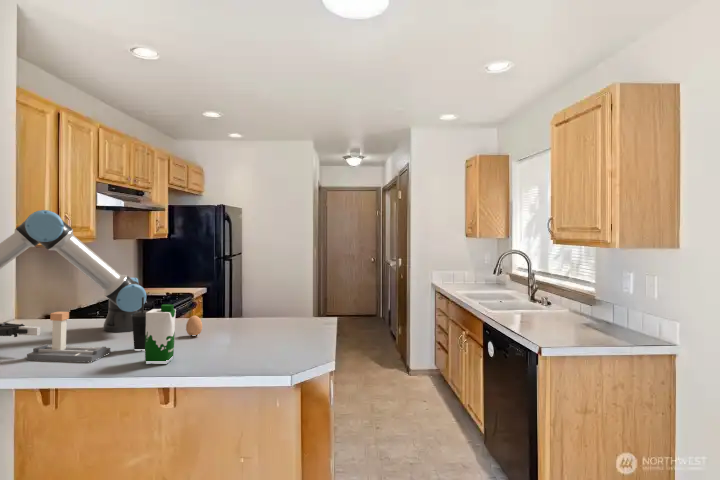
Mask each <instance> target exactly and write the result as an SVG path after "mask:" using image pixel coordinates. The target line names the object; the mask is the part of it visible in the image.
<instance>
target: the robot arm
mask: <svg viewBox="0 0 720 480" xmlns="http://www.w3.org/2000/svg"><path fill="white" fill-rule="evenodd" d="M39 244H40V245H41V246H42V247H44V248H45V249H46V250H47V251H55V252H57V253H58V254H59V255H60V256H61V257H63V258H64V259H65V260H66V261H68V263H70V264H71V265H72V266H74V267H75V268H76V269H78V270H79V271H80V272H82V274H84V275H85V276H86V277H88V278H89V279H90V280H92V281H93V282H94V283H95V284H96V285H98V286H99V288H101V289H102V290H103V292H104V296H105V297H106V298H107V299H108V309H107V310H108V313H107V316H106V318H105V319H104V323H103V331H104V332H110V333H122V332H123V333H125V332H133V324H132V316H131V314H133V313H135V312H138V311H140V310H141V309H142V297H144V305H145V303H146V301H147V292H146V290H145V288H144V287H143V286H141V285H140V284H139V279H138V278H137V277H130V276H128V274H120V273H119V272H118V271H117V270H115V269H114V268H113V267H112V266H111V265H109V263H108V262H106V261H105V259H104V260H103V259H102V257H100V256H99V255H98V254H97V253H96V252H94V251H93V250H92V249H91V248H90V247H89V246H87V245H86V244H85V243H84V242H83V241H81V240H80V239H79V238H77V236H75V235H74V229H73V228H72V227H71V226H70V225H69V224H67V223H66V222H65V221H64V220H63V219H62V217H61V216H60V215H59V214H58V213H56V212H54V211H51V210H48V209H47V210H45V209H41V210H40V209H39V210H36V211H34V212H32V213H31V214H30V215H29V216H28V217H27V218H26V219H25V221H23V222H22V223H21V224H20V225H19V226H17V227H16V228H15V229H14V233H12V234H11V235H9V236H8V237H7V238H5V239H4V240H2V241H1V242H0V270H1V269H2V268H4V267H5V266H7V265H8V264H9V263H10V262H11V261H13V260H14V259H16V258H18V256H20V255H21V254H23V253H24V252H25V251H27V249H30V248H35V247H36V246H38V245H39ZM40 334H41V326H27V325H25V324H23V323H20V324H19V323H9V322H3V323H0V337H11V336H13V338H17V337H18V336H40Z"/></svg>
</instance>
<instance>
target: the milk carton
mask: <svg viewBox="0 0 720 480" xmlns="http://www.w3.org/2000/svg"><path fill="white" fill-rule="evenodd" d="M160 307H161V308H152V309H151V310H147V311H148V312H146V335H145V351H144V359H145V361H166V360H169V359H170V358H171V357H172V356H173V357H174V351H175V328H176V315H177V313H176V312H177V309H175V308H174V304H170V303H165V304H161V305H160ZM145 361H144V362H145Z"/></svg>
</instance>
